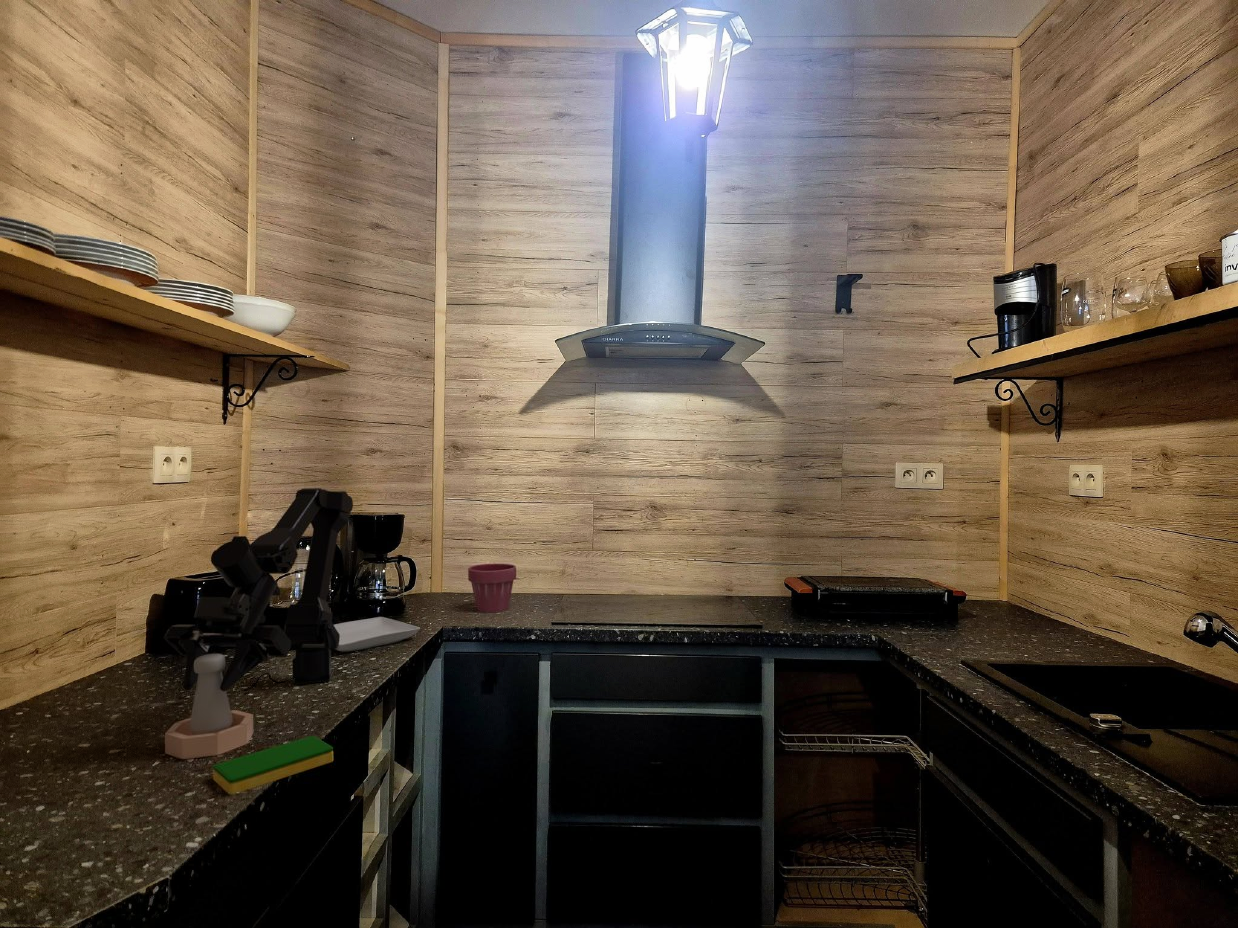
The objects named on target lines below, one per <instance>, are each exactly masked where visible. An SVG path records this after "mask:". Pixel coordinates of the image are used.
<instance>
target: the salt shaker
mask: <svg viewBox="0 0 1238 928" xmlns="http://www.w3.org/2000/svg"><path fill="white" fill-rule="evenodd" d="M225 668H226V657H225V655H223V654H222V653H208V654H207V655H203V656H200V657H198V658H197V659H196V660H195V661H194V671H195V673H198V679H197V682H196V684H195V685H196V686H195V691H194V692H195V693H194V698H193V699H194V700H193V705H192V711H191V716H190V718H191V722H190V730H191V733H192V734H193V735H201V734H210V733H217V732H220V731H223V730H226V729H228V728H230V726H231V725H232V721H233V719H232V714H231V711H232V710H231V706H230V701H229V696H228V693H227V690H226V691H222V690H221V689H220V686H221V683H222V680H223V678H224V676H223V673H222V671H223V670H224V669H225Z"/></svg>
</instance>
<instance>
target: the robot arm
mask: <svg viewBox="0 0 1238 928" xmlns="http://www.w3.org/2000/svg"><path fill="white" fill-rule="evenodd" d="M353 507H354V502H353V498H352V497H351V496H350V495H349V494H348V493H347V492H346V490H344V491H343V490H342V491H340V490H339V491H338V490H337V491H336V490H335V491H334V490H333V491H332V490H331V491H329V490H327V489H325V488H324V489H323V488H322V487H313V488H311V487H310V488H309V487H308V488H301V489H298V490H297V491H296V493H295V498H294V500H293V501H292V503H290V504H289V507H288V508H287V509H286V511H284V513H283V515H282V516H281V517H280V519H279V520H278V522H277V523H276V524H275V526H274V527H273V528H272V529H271V530H270V531H268V532H266V533H263V534H261V535H260V536H257V537H256V538H255V540H254V541H252V542H251V543H250V541H249V539H248V538H247V536H246V535H242V536H241V535H238V536H237V535H236V536H233V537H232V539H231V540H230V541H227V542H225V543H223V544H222V545H220V546H219V547H218V548H217V549H215V550H213V552H212V554H211V556H210V562H211V565H213V567H214V568H215V569H216V570H217V572H218V573H219V575H220V576H221V577H222V579H223V580H224V581H225V583H226V584H227V585H228V586H229V587H232V588H235V589H234V590H233V593H232V595H231V596H230V597H224V596H223V597H222V596H200V597H198V598H199V599H198V602H197V605H196V609H195V612H194V614H193V615H194V616H193V618H194V619H201V620H204V621H206V623H205V626H206V627H207V628H208V629H209V630H210V629H212V630H213V631H212V632H203V631H202V630H201V629H200V628H199V627H198V626H197V624H175V625H171V626H169V628H168V629H167V631H166V633H165V635H164V637H163V640H164V641H166V643H168V645H170V646H171V648H173V649H174V650H175V651H176V652H177V654H179V655H181V656H183V657H186V658H185V672H184V677H183V685H182V687H183V689H184V690H185V691H186V692H188V691H190V690H191V689H192V688H193V687H194V685H196V684H197V679H198V673H195V671H194V661H195V660H196V659H197V658H198V657H200V656H203V655H207V654H209V652H208V651H209V648H210V647H235V653H234V656H233V658H232V660H231V661H230V664H229V665H228V667H227V669H226V672H225V674H224V676H223V680H222V683H221V686H220V689H221V690H222V691H226V692H227V690H229V689H230V688H231V687H232V686H233V685H235V684H236V683H237V682H238V681H240V679H242V678H244V676H245V675H246V674H248V673H249V672H250V671H252V670H254V669H255V668H256V667H257V666H259V665H260V664H262V663H263V662H268V661H269V659H270V658H287V656H288V655H289V653H290V652H295V655H294V657H293V659H292V680H294V682H293V685H296V686H297V685H305V684H307V685H308V684H313V683H315V684H316V683H327V682H330V680H331V678H332V676H333V673H334V672H333V669H332V650H335V649H337V648H338V645H339V641H340V640H339V639H340V635H339V633H338V631H337V630H336V628H335V627H334V625H335V624H333V613H332V611H331V608H330V606H329V604H328V602H327V601H328V594H329V587H330V582H331V577H332V569H333V565H334V558H335V552H336V546H337V542H338V541H337V540H338V536H339V533H340V532H341V531H342V530H343V529H344V528H345V526H346V525H347V524H348V523H349V520H350V516H351V512H352V511H353ZM310 525H311V527H312V529H313V531H312V535H311V536H312V537H311V541H310V545H309V552H308V557H307V562H306V567H305V574H304V577H303V579H304V580H303V585H302V590H301V595H300V598H299V599H298V601H297V602H295V603H293V604H292V603H291V604H290V605H289V606H288V607H287V612H286V617H285V618H286V619H285V622H284V625H283V629H282V627H280V625H273V624H272V625H270V624H269V625H266V624H265V625H264V623H265V621H266V620H267V616H265V614H264V612H265V611H266V608H267V606H268V605H269V602H270V600H271V598H272V596H273V597H274V596H276V597H279V596H280V595H281V588H280V587H279V585H278V584H279V583H278V580H275V578H274V577H273V576H272V574H273V575H278V574H279V575H281V574H283V575H284V574H288V573H289V572H290V571H291V569H292V567H293V566H294V565H295V562H296V560H297V557H298V550H297V545H298V543H299V541H300V540H301V539H302V536H303V535H304V534H305V532H306V530H307V529H308V528H309V526H310ZM259 624H261V625H259Z"/></svg>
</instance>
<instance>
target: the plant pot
mask: <svg viewBox="0 0 1238 928" xmlns="http://www.w3.org/2000/svg"><path fill="white" fill-rule="evenodd" d="M467 573H468V574H467V576H468V577H467V579H468V581H469V582H470V583H471V587H472V593H473V598H474V601H475V606H476V611H478V612H480V613H487V614H491V613H494V614H495V613H501V612H504V611H507V610H509V605H510V602H511V601H510V600H511V597H512V592H513V591H512V590H513V586H514V581H515V580H516V579H517V566H516V565H514V564H509V563H484V564H483V563H481V564H475V565H471V566H469V567H468V569H467Z"/></svg>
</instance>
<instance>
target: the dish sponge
mask: <svg viewBox="0 0 1238 928" xmlns="http://www.w3.org/2000/svg"><path fill="white" fill-rule="evenodd" d="M333 761H334V747H333V746H332V745H330V744H329V743H326V742H325V741H323V740H322V739H320V738H318V737H317V736H315V735H310V736H307V737H304V738H300V739H297V740H294V741H290V742H287V743H283V744H278V745H276V746H274V747H270V748H266V749H263V750H260V751H256V752H252V753H249V754H246V755H243V756H240V757H236V758H232V759H229V760H225V761H223V762H219V763H216V764H214V765H212V769H213V772H212V777H213V779H212V780H213V781H214V782H216V783H217V785H218V786H219V787H221V788H222V789H223V790H224V791H225V792H226V793H227V794H228V795H236V794H238V793H237V792H239V793H241V791H242V792H244V791H247V789H248V790H251V789H253V788H256V786H257V787H260V786H262V785H265V784H269V783H271V782H275V781H278V780H281V779H284V778H286V777H287V778H288V777H290V776H292V775H297V774H299V773H302V772H305V771H308V770H311V769H314V768H317V767H321V766H324V765H326V764H327V765H328V764H330V763H333ZM235 793H236V794H235Z"/></svg>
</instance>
